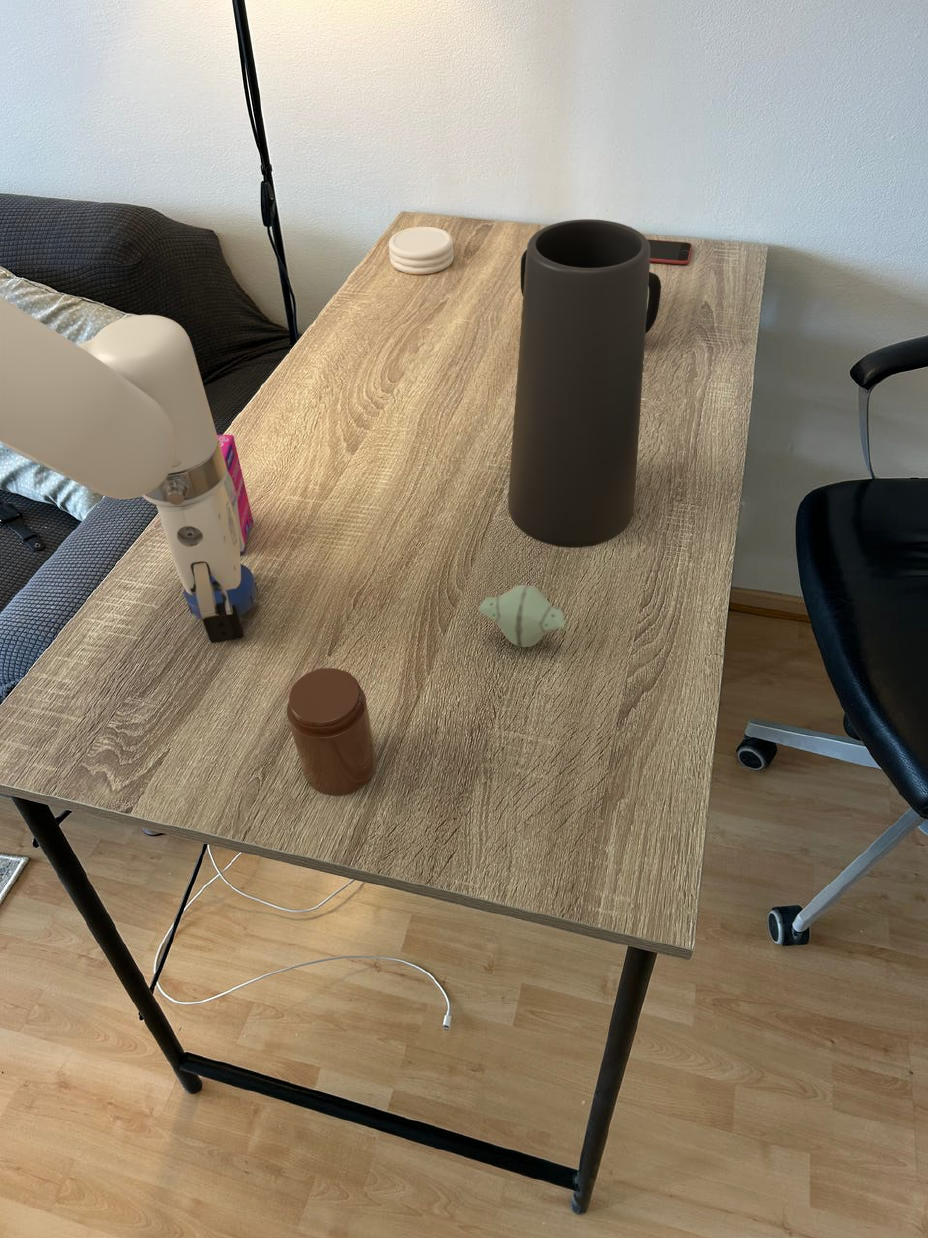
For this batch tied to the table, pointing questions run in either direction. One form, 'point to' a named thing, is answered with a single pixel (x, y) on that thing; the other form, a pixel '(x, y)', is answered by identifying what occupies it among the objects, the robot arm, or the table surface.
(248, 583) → the lid
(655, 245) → the smartphone
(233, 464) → the supplement box
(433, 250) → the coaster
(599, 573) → the table surface
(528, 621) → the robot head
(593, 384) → the vase
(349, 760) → the jar
